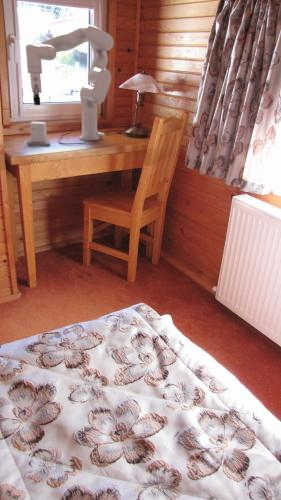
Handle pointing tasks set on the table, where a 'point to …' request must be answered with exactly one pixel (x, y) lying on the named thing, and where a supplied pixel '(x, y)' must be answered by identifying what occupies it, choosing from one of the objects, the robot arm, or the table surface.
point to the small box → (38, 131)
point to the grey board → (38, 143)
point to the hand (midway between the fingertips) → (37, 103)
